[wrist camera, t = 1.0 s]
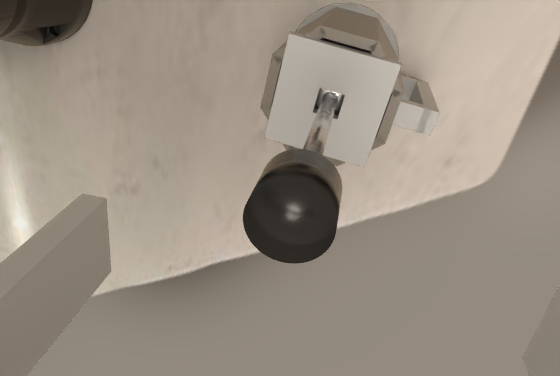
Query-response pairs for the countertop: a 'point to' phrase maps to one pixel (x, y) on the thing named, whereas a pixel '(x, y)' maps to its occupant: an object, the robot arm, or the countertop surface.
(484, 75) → the countertop surface
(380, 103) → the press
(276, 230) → the plunger
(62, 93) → the countertop surface
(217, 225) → the countertop surface
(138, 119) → the countertop surface
